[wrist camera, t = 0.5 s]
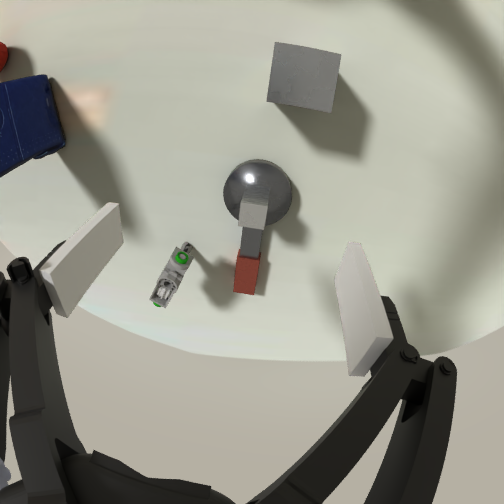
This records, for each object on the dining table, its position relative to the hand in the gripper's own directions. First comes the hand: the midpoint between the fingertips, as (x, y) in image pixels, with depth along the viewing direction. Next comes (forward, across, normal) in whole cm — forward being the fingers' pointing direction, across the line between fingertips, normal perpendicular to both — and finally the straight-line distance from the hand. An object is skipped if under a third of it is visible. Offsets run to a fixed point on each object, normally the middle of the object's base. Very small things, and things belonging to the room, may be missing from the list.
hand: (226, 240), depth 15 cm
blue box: (+24, -36, +4) cm, 43 cm away
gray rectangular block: (+24, +4, +10) cm, 26 cm away
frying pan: (+23, +1, -13) cm, 27 cm away
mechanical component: (+24, -9, -18) cm, 31 cm away
